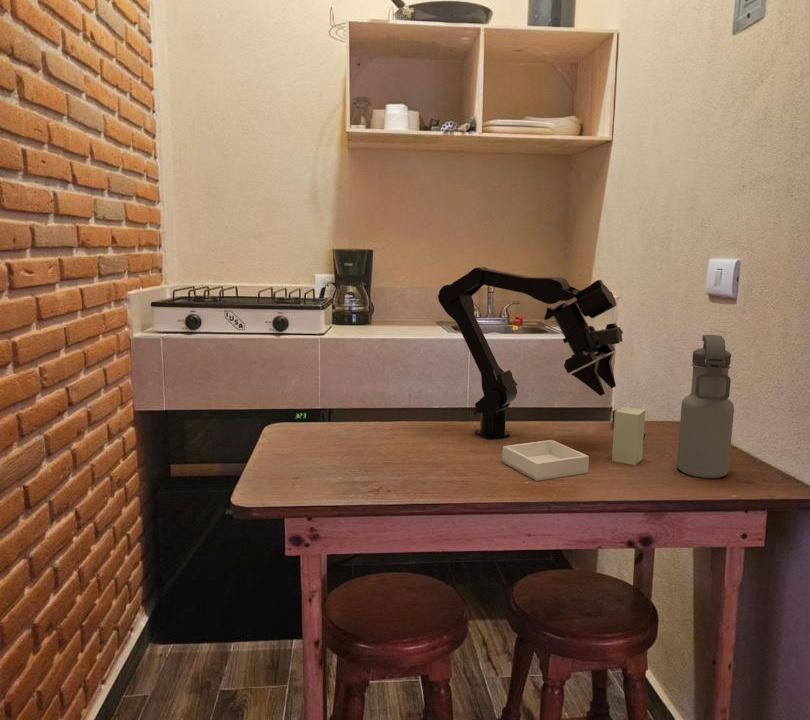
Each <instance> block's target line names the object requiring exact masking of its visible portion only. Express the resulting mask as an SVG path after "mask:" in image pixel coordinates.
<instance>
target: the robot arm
mask: <svg viewBox="0 0 810 720" xmlns="http://www.w3.org/2000/svg"><path fill="white" fill-rule="evenodd" d="M483 286H488V287H492V288H497V289H503V290H507V291H512V292H518V293H522V294H524V295H527V296H529V297H530V298H533V299H534V300H537V301H539V302H542V303H544V304H548V305H553V304H558V303H561V304H559V305H557V306H555V307H554V308H553V307H551V306H549V307H547V308H546V311H545V312H546V313H545V315H544V318H543V319H544V320H545V321H547V320H551V319H553V318H554V320H555V321H556V324H557V325H558V327H559V330H560V331H561V333H562V335H563V337H564V338H563V339H562V341H563V343H564V344H567V345H568V346H569V348H570V350H571V352H572V353H573V354H572V355H571V357H569V358H567V359H566V360H565V361H564V364H563V367H564V369H565V371H566V373H567V374H570V373H571V376H572V377H575V379H577V380H579V381H580V382H581V383H583V384H584V385H586V386H587V387H589V388H590V389H591V390H592V391H593V392H595V393H596V394H597V395H599V396H600V397H601V396H603V395H605V390H604V389H605V388H604V387H603V386H604V385H603V384H602V381H603V382H604V383H605V384H606V385H608V386H609V387H610V388H611V389H614V388H615V387H617V383H616V380H615V376H614V372H613V371H614V370H613V367H612V360H613V357H614V355H615V352H614V351H615V350H616V349H615V346H614V345H617V344H620V343H622V342H623V333H624V331H623V330H622V329H621V326H618V325H617V323H615V322H614V323H608V324H606V326H605V329H603V328H602V329H600V330H599V329H598V330H596V329H595V327H594V325H589V324H588V322H587V321H586V318H587V317H589V318H591V319H595V318H596V317H599V316H600V315H602V314H605V313H606V312H607V311H610V310H611V309H614V308H615V307H617V300H616V298H615V296H614V294H613V292H612V291H610V290H609V288H608V287H607V285H605V284H604V282H603V281H602V279H598V280H595V281H593V282H592V283H591V284H590V285H589V286H587V287H585V288H583V289H582V290H580V289H579V288H576V287H573V286H572V285H570V283H569V282H568V280H567V279H566V278H564V277H561V276H560V277H559V276H544V277H543V276H541V277H540V276H535V277H534V276H533V277H531V276H527V275H521V274H517V273H511V272H506V271H501V270H495V269H490V268H488V267H485V266H480V267H478V266H477V267H474V268H472V270H471V271H468V273H467V274H465V275H463V276H462V277H460V278H458V279H457V280H455V281H453V282H452V283H450V284H446V285H443V286H442V287H441V288H440V290H439V292H438V295H437V300H438V302H439V305H440V306H441V307H442V309H443V310H444V312H445V313H446V314H447V315H448V316H449V317H451V319H452V320H453V321H455V323H456V325H457V326H458V329H459V330H460V334H461V335H462V337H463V339H464V342H465V344H466V346H467V347H468V349H469V352H470V354H471V357H472V358H473V361H474V362H475V364H476V366H477V369H478V372H479V373H480V376H481V377H480V379H481V389H482V394H483V396H482V397H481V398H480V399H479V400H478V401H476V403H475V404H474V407H475V409H476V413H478V414H480V419H479V420H480V423H479V425H480V426H479V429H476V430H475V429H474V433H475V434H477V435H479V436H480V437H482V438H485V439H486V440H491V439H498V438H507V437H510V436H511V433H509V432H507V431H506V411H505V409H509V407H510V404H511V403H512V402H514V400H516V398H517V396H518V395H517V394H518V388H517V386H518V385H519V384H518V383H517V382H516V381H515V379H514V377H513V374H512V372H511V370H510V369H509V370H506V371H505V370H503V368H501V367H500V366H499V364H498V362H497V360H496V357H495V355H494V354H493V352H492V349H491V347H490V346H489V343H488V340H487V339H486V336H485V335H484V333H483V330H482V329H481V327H480V323H479V322H478V320H477V318H476V316H475V311H474V310H475V308H474V307H475V305H474V303H475V302H474V299H473V295H475V294H476V293H478V292H479V291H480V290H481V289H482V287H483ZM573 300H575V301H573ZM564 301H565V302H564ZM568 301H573V302H572V303H570V304H568V303H566V302H568Z"/></svg>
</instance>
